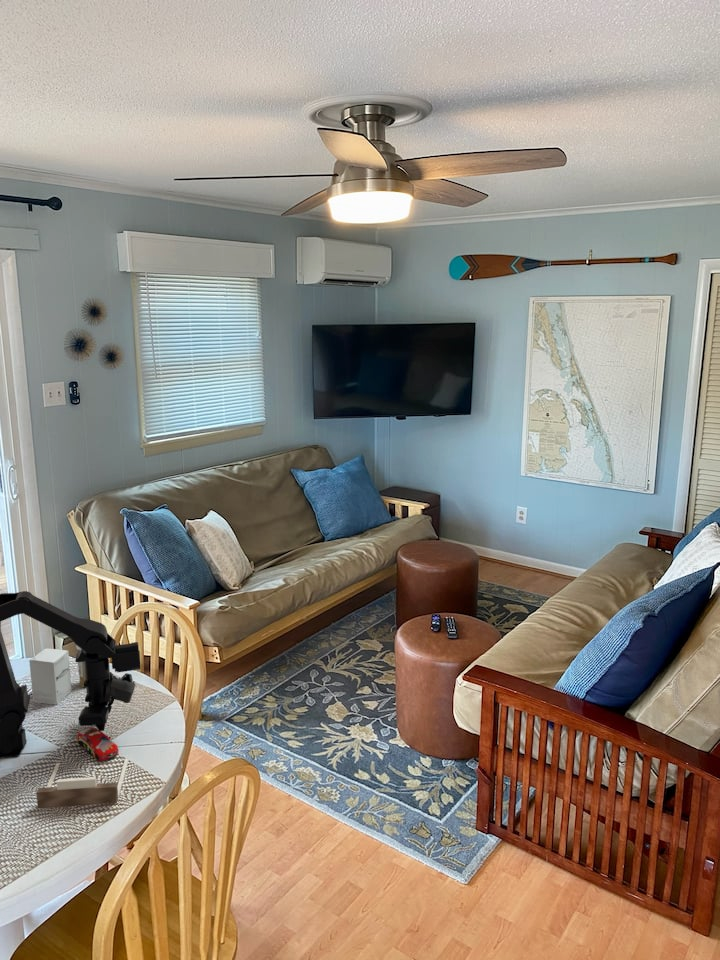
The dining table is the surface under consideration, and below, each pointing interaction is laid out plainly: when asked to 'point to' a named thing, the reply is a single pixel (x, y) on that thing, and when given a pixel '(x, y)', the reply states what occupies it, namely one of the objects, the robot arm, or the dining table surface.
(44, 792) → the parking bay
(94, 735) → the race car
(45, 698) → the supplement box
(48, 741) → the dining table surface
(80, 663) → the sprinkles bottle
